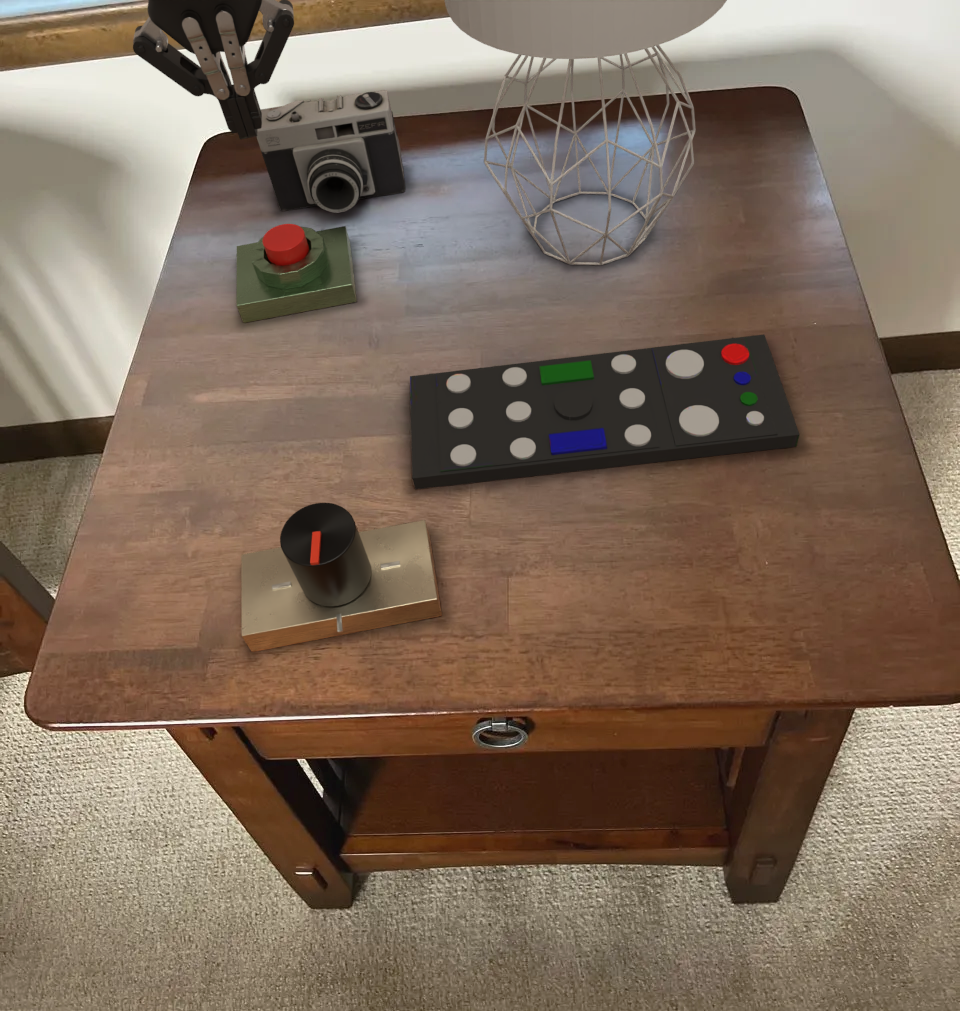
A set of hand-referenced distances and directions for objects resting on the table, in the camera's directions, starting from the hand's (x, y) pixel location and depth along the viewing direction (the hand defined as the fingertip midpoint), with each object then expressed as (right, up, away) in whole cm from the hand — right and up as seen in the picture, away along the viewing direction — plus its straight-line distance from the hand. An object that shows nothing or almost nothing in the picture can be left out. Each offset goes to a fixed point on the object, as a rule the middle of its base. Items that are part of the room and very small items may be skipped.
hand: (248, 132), depth 77 cm
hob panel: (+9, -38, -9) cm, 40 cm away
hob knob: (+9, -36, -11) cm, 39 cm away
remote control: (+29, -24, -1) cm, 38 cm away
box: (+2, -9, +13) cm, 16 cm away
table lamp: (+30, -4, +13) cm, 33 cm away
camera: (+5, +1, +20) cm, 21 cm away
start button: (+1, -7, +10) cm, 12 cm away
